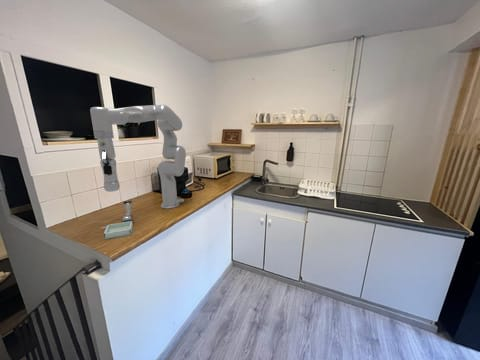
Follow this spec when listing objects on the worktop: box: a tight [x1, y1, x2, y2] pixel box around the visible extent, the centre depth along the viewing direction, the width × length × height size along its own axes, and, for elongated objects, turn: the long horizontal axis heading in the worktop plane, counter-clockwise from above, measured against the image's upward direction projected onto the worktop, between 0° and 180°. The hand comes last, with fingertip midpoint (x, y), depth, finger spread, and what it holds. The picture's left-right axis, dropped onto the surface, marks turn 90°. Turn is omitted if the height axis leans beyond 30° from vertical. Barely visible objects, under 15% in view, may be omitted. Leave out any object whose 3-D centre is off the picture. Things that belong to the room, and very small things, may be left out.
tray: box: [103, 221, 134, 241], centre depth 103 cm, size 12×11×3 cm
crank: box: [122, 200, 133, 222], centre depth 116 cm, size 14×5×8 cm, turn 24°
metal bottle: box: [100, 158, 120, 192], centre depth 97 cm, size 6×7×20 cm
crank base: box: [100, 217, 135, 229], centre depth 111 cm, size 16×6×2 cm, turn 114°
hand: (109, 172), depth 97 cm, fingers closed on metal bottle, 6 cm apart
